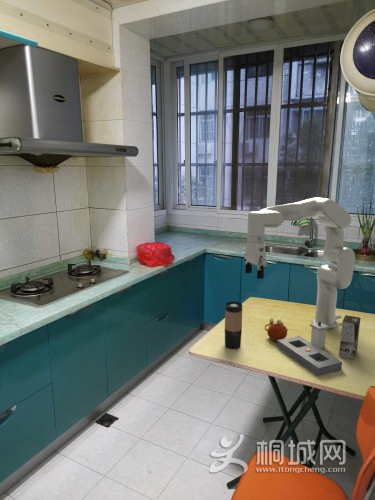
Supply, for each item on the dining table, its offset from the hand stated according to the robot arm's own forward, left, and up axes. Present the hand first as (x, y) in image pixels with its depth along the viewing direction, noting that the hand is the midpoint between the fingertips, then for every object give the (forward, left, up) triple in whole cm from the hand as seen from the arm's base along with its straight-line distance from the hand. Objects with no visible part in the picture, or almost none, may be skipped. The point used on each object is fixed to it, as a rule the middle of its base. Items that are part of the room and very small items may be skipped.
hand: (254, 275), depth 166 cm
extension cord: (-19, -6, -32) cm, 38 cm away
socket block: (-12, +25, -31) cm, 42 cm away
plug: (-24, +18, -31) cm, 43 cm away
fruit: (-11, +5, -32) cm, 34 cm away
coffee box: (-31, +29, -31) cm, 53 cm away
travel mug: (+12, +3, -31) cm, 34 cm away
